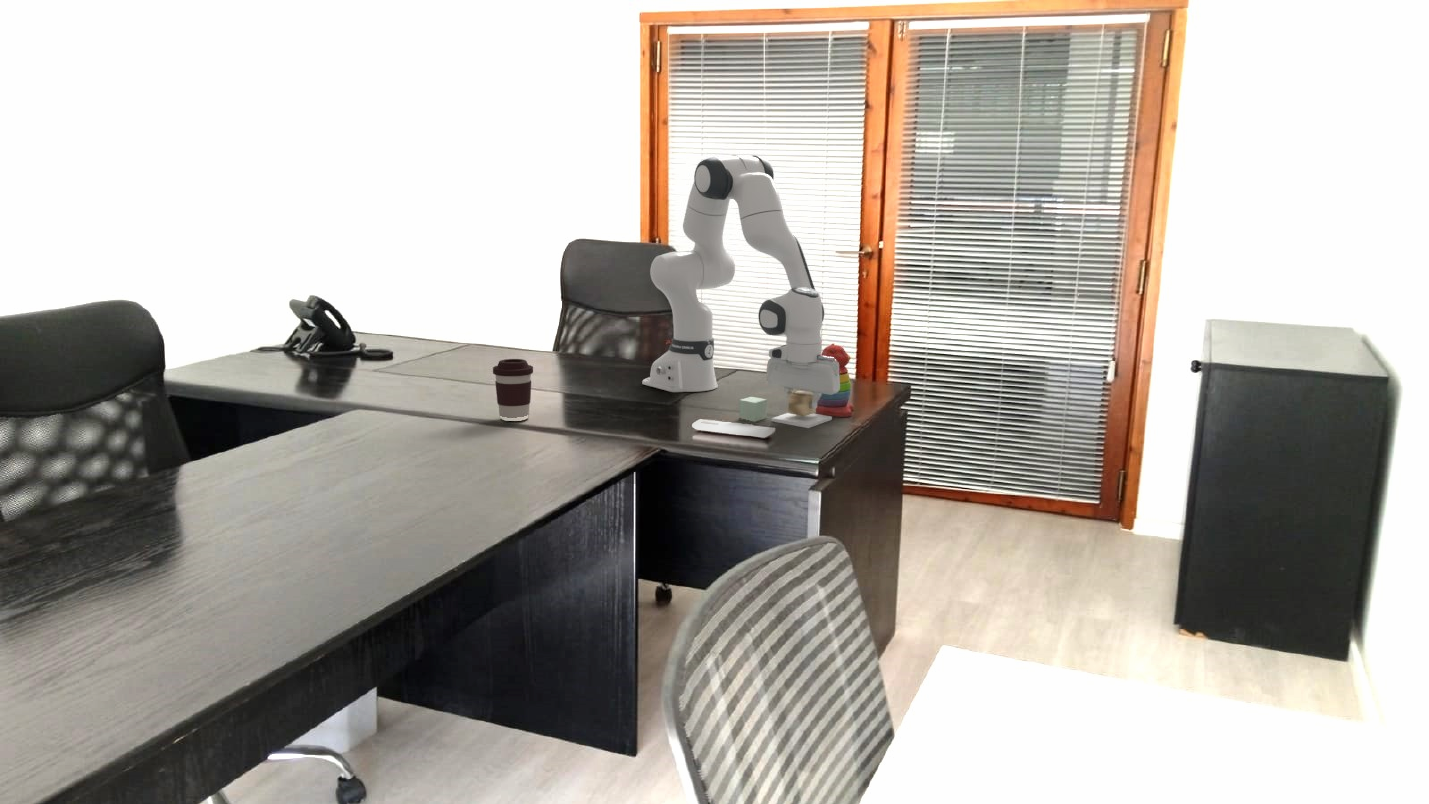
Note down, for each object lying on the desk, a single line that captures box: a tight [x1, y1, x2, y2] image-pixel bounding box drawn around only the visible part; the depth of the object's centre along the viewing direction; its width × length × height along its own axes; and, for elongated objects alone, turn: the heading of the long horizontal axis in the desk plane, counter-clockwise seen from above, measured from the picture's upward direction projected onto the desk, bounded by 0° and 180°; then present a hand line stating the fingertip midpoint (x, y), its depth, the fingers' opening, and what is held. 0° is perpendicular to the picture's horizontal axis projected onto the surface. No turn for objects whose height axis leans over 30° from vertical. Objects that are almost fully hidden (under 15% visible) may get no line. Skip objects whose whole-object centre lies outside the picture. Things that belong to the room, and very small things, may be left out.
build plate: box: [771, 412, 833, 429], centre depth 280 cm, size 11×11×1 cm
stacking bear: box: [816, 343, 855, 418], centre depth 287 cm, size 11×10×18 cm
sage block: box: [738, 396, 768, 423], centre depth 281 cm, size 5×5×5 cm
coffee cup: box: [492, 358, 534, 418], centre depth 278 cm, size 10×10×15 cm
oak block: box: [787, 390, 817, 416], centre depth 279 cm, size 5×5×5 cm
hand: (802, 406), depth 279 cm, fingers closed on oak block, 5 cm apart
